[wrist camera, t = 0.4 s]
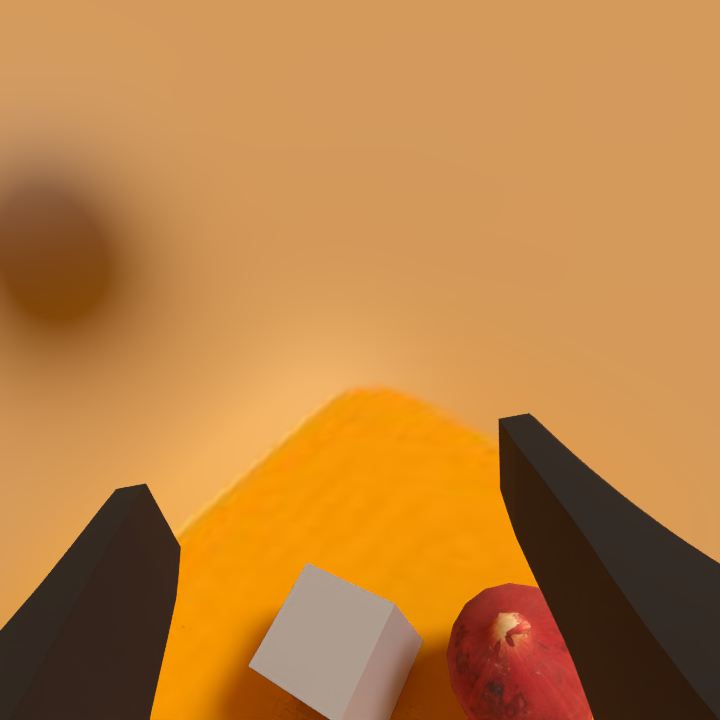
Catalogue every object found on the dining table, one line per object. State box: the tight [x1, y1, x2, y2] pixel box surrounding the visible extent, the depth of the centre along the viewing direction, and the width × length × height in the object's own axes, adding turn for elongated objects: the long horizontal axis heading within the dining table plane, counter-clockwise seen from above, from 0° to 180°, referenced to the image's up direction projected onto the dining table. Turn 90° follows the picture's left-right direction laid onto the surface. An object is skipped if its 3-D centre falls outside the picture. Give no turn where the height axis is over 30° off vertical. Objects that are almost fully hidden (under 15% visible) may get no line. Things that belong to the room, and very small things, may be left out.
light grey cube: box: [249, 563, 423, 720], centre depth 26 cm, size 5×5×5 cm
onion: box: [447, 583, 593, 720], centre depth 22 cm, size 6×6×8 cm
